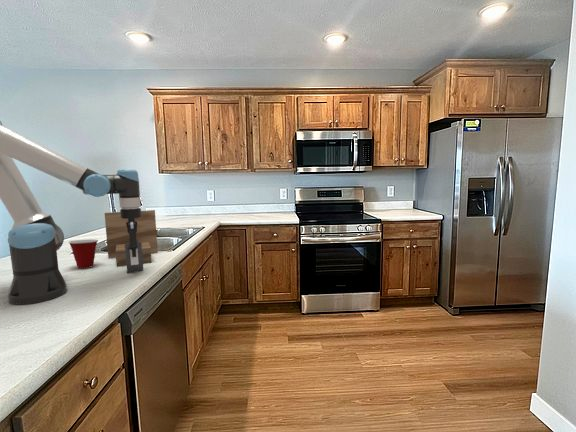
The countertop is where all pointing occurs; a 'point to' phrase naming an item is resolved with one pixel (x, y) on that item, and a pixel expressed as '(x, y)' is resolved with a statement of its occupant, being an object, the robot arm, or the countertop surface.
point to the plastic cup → (84, 252)
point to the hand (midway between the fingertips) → (134, 261)
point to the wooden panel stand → (120, 236)
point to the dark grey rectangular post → (128, 260)
